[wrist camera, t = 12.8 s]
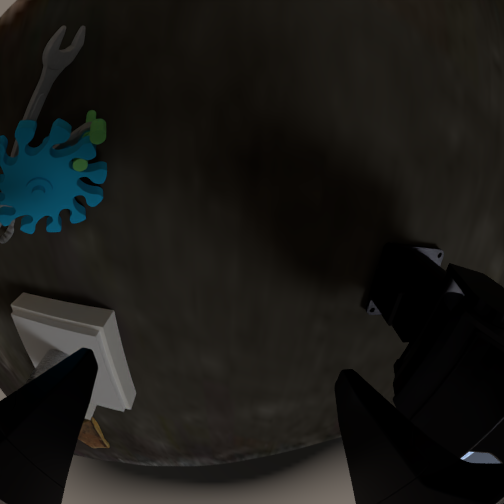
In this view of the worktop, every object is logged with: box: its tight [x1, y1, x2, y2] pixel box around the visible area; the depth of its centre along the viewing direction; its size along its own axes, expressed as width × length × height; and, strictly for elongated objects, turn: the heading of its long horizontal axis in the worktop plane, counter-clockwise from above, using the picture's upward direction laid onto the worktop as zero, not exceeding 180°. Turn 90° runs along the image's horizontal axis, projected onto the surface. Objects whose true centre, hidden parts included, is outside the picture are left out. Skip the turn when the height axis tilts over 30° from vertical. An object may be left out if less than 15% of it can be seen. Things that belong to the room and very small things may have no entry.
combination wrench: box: [0, 26, 85, 243], centre depth 14 cm, size 4×1×20 cm
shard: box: [78, 417, 110, 448], centre depth 32 cm, size 11×8×2 cm
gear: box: [0, 110, 107, 234], centre depth 14 cm, size 11×6×10 cm
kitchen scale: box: [11, 292, 136, 420], centre depth 22 cm, size 12×15×4 cm
